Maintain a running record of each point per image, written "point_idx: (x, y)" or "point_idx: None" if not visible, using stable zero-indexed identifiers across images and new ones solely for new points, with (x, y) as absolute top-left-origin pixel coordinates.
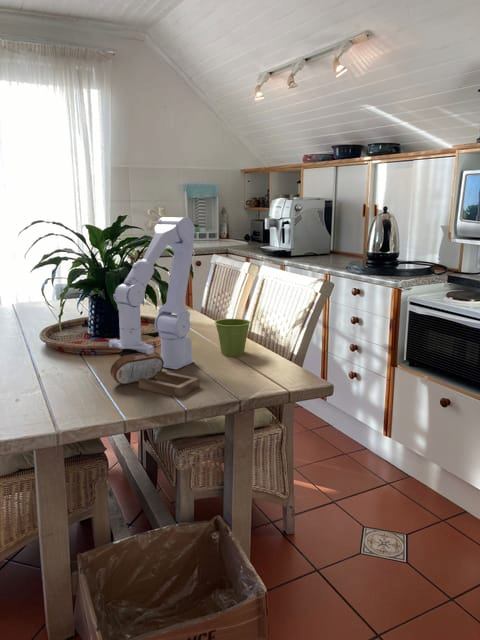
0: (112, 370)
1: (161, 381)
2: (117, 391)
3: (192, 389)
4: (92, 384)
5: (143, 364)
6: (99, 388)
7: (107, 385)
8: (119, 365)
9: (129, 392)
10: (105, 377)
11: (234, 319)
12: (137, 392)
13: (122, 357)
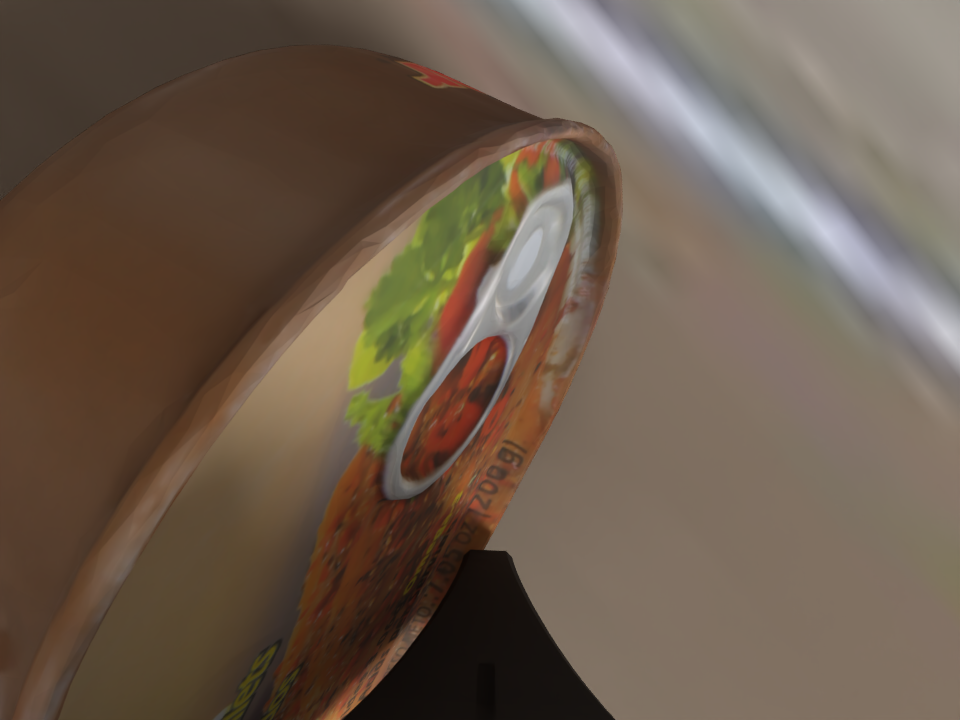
0: (505, 103)
1: None
2: (327, 38)
3: None
4: (942, 112)
5: None
6: (699, 4)
7: (672, 196)
8: (153, 96)
9: (130, 99)
10: (940, 479)
11: None
12: (30, 163)
13: (147, 468)
